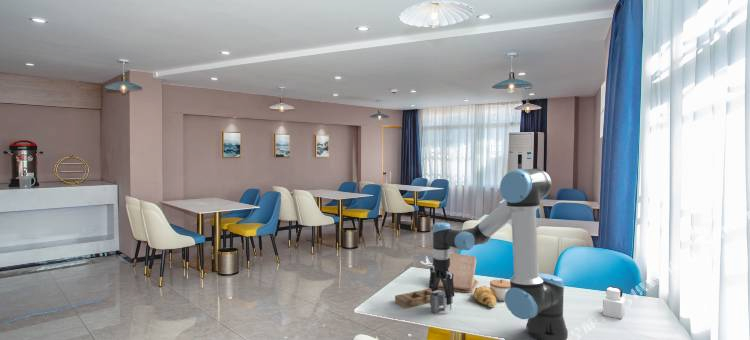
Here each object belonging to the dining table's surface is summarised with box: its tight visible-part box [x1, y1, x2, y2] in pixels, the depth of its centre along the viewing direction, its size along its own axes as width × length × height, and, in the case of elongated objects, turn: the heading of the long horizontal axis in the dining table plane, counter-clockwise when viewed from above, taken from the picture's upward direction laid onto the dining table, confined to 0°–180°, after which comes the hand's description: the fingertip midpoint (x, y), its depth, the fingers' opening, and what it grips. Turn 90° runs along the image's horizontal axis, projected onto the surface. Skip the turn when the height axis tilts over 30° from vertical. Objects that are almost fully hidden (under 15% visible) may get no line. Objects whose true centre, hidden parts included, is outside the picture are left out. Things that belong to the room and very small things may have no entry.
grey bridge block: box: [429, 290, 454, 315], centre depth 195 cm, size 10×4×8 cm, turn 120°
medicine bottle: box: [602, 285, 626, 320], centre depth 189 cm, size 7×7×12 cm
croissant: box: [473, 285, 497, 308], centre depth 206 cm, size 21×10×8 cm, turn 7°
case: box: [438, 253, 479, 294], centre depth 230 cm, size 20×21×16 cm
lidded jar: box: [489, 278, 510, 302], centre depth 209 cm, size 11×11×9 cm
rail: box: [394, 288, 441, 309], centre depth 208 cm, size 22×9×3 cm, turn 120°
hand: (441, 308), depth 195 cm, fingers open, 8 cm apart
